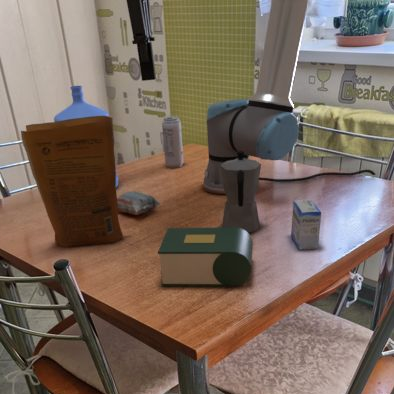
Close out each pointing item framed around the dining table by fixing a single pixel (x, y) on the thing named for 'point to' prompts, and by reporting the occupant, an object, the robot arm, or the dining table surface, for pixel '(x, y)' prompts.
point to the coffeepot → (241, 193)
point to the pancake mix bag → (76, 178)
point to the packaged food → (136, 203)
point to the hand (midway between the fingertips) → (149, 79)
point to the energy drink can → (172, 141)
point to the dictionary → (206, 257)
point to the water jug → (80, 110)
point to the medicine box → (305, 224)
